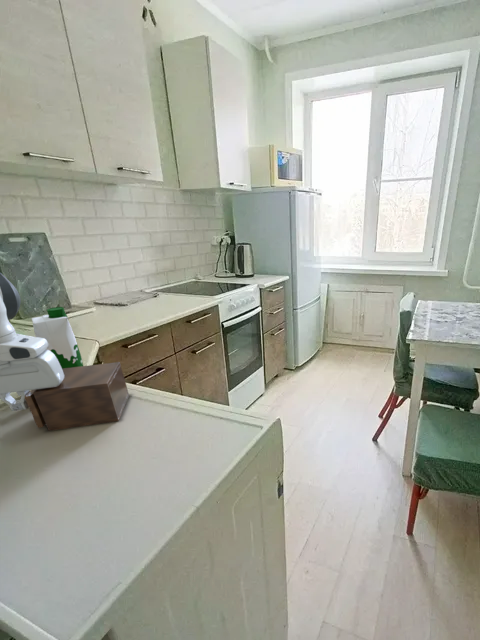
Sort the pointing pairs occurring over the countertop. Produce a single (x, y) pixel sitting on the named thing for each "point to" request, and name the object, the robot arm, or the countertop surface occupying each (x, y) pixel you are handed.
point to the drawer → (35, 409)
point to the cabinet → (84, 397)
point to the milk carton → (58, 337)
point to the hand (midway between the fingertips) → (21, 408)
